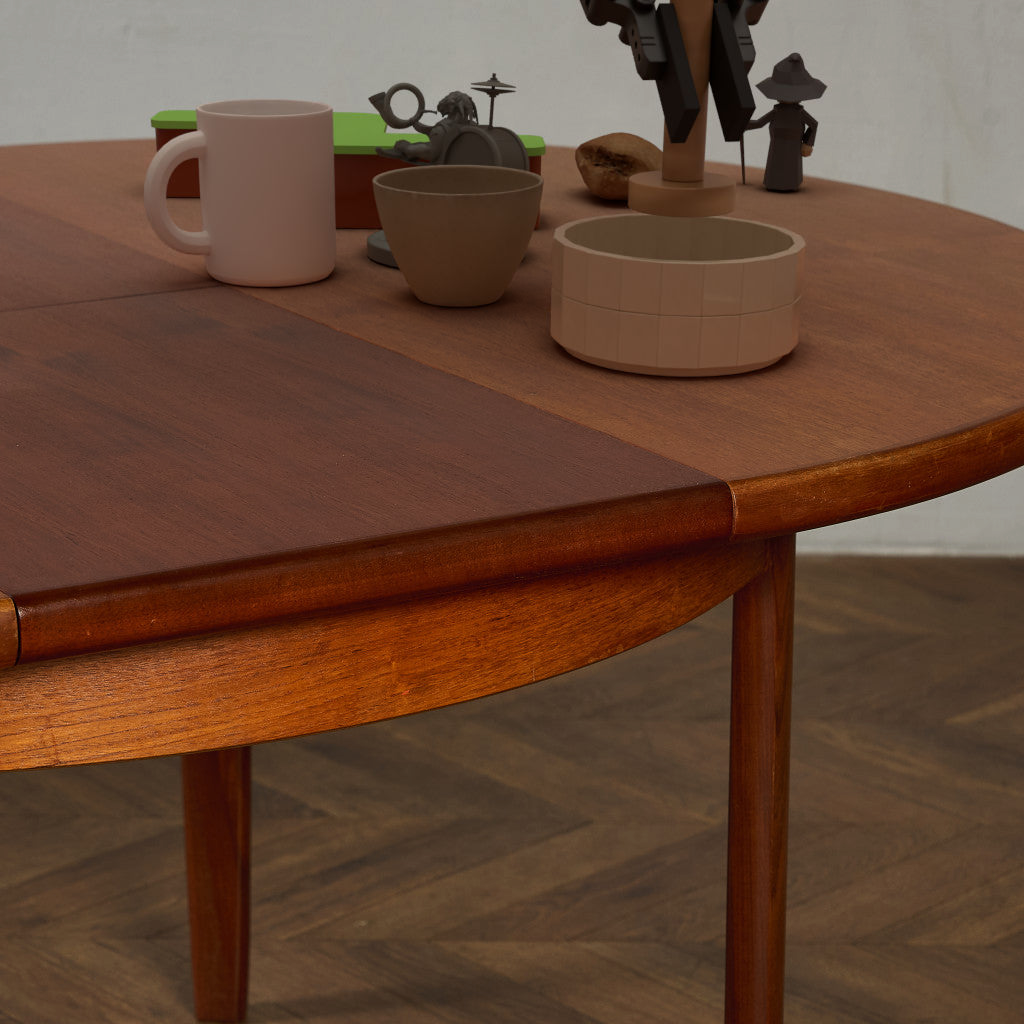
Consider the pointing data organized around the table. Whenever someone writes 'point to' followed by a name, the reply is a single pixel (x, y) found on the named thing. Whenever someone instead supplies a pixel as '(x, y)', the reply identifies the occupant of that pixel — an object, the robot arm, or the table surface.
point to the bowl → (676, 293)
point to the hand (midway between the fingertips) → (713, 125)
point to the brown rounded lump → (615, 163)
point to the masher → (683, 163)
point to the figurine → (448, 141)
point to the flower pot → (458, 228)
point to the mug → (255, 191)
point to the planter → (351, 161)
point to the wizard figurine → (787, 123)
